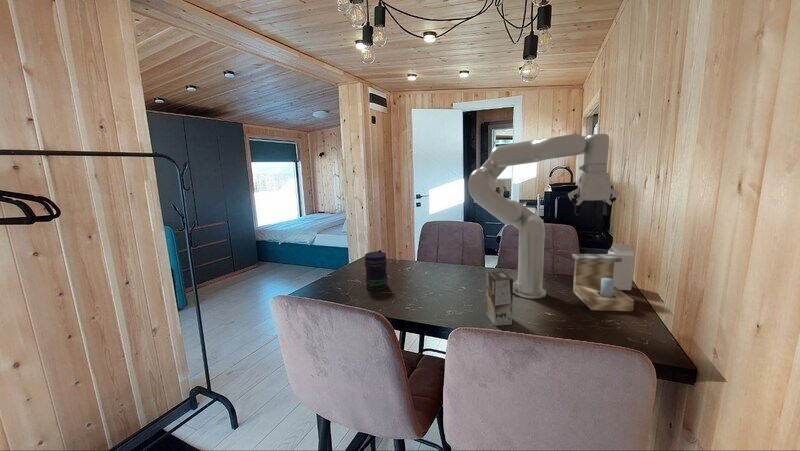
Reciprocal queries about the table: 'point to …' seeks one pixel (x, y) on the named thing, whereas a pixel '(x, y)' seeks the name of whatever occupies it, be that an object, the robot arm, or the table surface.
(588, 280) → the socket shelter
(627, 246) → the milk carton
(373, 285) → the storage jar
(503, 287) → the coffee box
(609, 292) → the peg
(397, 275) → the table surface
